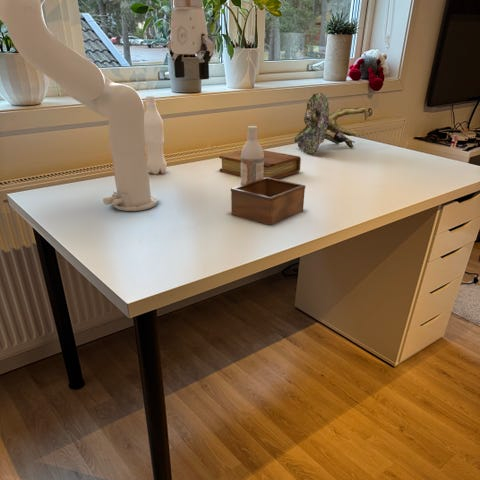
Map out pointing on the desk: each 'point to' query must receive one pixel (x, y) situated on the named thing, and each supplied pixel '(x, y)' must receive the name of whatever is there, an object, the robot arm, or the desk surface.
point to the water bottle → (154, 137)
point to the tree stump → (323, 125)
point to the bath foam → (252, 158)
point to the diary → (273, 164)
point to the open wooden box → (267, 200)
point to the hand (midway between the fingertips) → (191, 78)
